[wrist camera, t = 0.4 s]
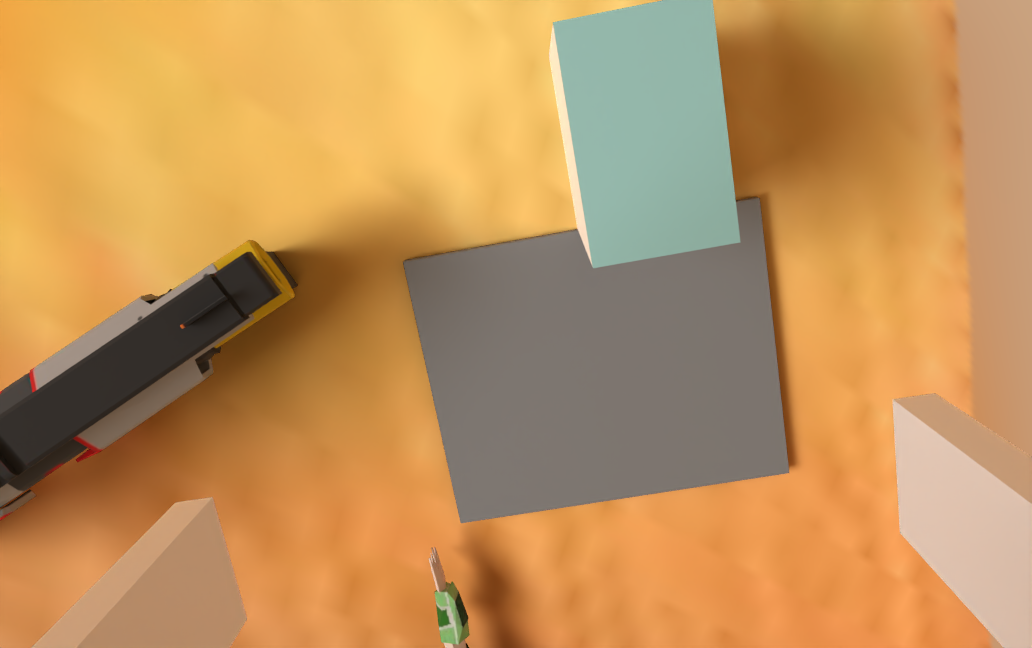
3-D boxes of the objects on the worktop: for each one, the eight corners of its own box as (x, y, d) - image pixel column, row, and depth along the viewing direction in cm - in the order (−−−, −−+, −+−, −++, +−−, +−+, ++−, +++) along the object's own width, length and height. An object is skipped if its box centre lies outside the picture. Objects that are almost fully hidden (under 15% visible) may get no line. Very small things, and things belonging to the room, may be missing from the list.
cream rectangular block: (548, 55, 35) (553, 22, 24) (658, 34, 35) (711, -10, 24) (577, 228, 37) (592, 268, 26) (681, 209, 36) (740, 242, 26)
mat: (405, 260, 37) (402, 262, 37) (756, 197, 36) (759, 197, 36) (461, 517, 41) (460, 523, 40) (785, 467, 39) (789, 472, 39)
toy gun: (-146, 516, 40) (-441, 670, 26) (274, 234, 43) (226, 226, 28) (-89, 577, 41) (-344, 760, 26) (320, 296, 44) (296, 320, 29)
